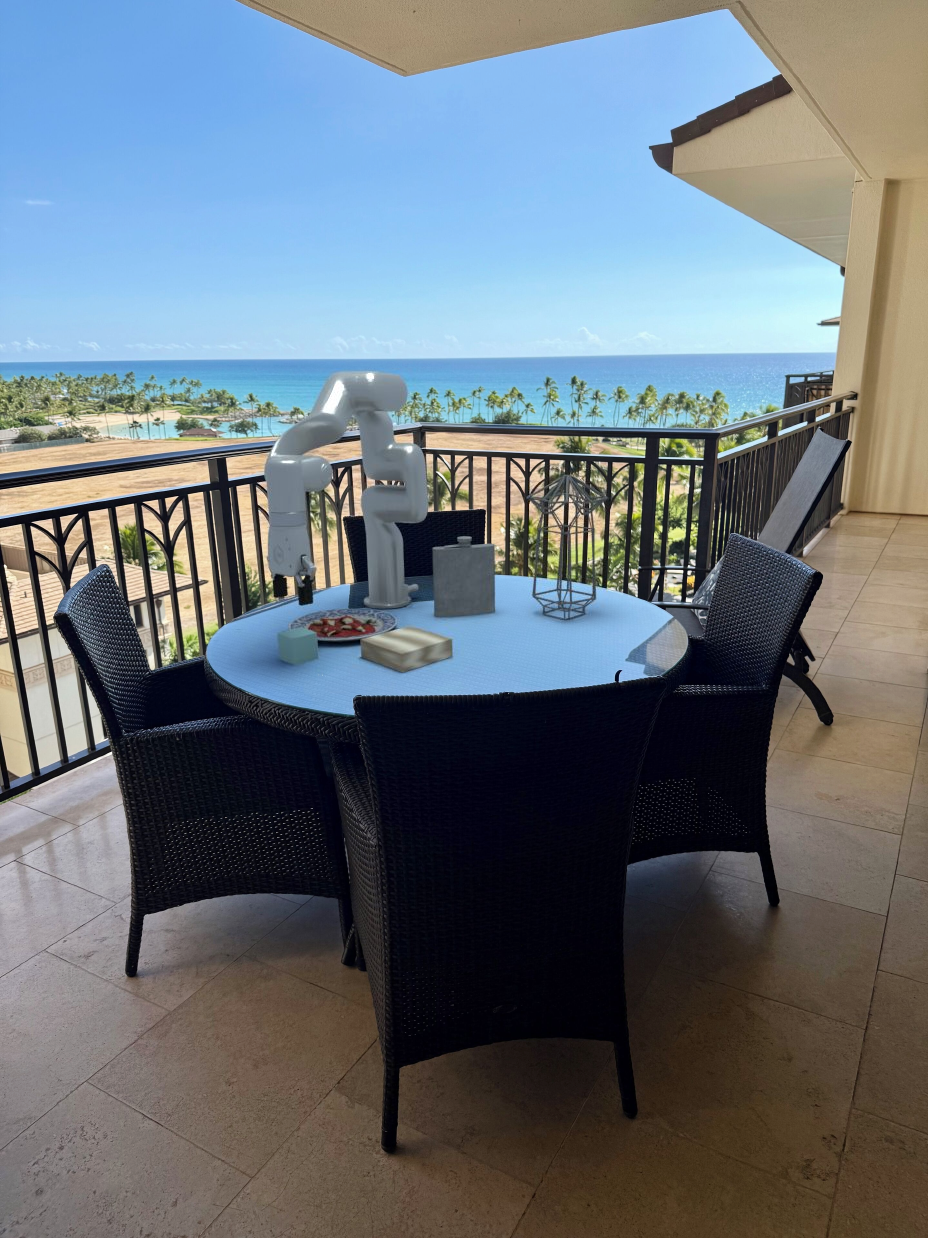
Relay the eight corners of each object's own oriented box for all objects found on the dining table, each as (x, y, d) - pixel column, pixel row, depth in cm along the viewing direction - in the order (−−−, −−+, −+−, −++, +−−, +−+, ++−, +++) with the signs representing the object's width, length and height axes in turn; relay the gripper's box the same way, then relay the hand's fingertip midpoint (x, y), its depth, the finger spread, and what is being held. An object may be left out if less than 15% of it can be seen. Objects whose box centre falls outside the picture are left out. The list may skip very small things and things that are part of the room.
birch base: (410, 642, 185) (410, 625, 183) (452, 656, 175) (452, 638, 174) (361, 657, 175) (360, 639, 174) (402, 672, 166) (401, 653, 164)
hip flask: (493, 609, 210) (492, 533, 205) (497, 613, 207) (497, 536, 201) (433, 614, 207) (431, 537, 201) (436, 618, 203) (434, 540, 197)
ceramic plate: (293, 653, 179) (292, 640, 179) (285, 622, 203) (284, 610, 202) (407, 642, 186) (406, 629, 185) (387, 613, 210) (386, 601, 209)
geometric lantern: (520, 614, 206) (522, 475, 197) (562, 604, 216) (565, 471, 207) (567, 626, 195) (571, 478, 186) (608, 614, 205) (614, 474, 196)
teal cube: (303, 652, 179) (301, 626, 177) (318, 659, 175) (316, 632, 173) (279, 659, 175) (277, 632, 173) (294, 665, 171) (292, 638, 169)
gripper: (250, 517, 170) (256, 596, 174) (295, 526, 158) (300, 611, 162) (281, 514, 175) (286, 591, 179) (327, 521, 163) (331, 604, 167)
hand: (293, 600), depth 171 cm, fingers open, 9 cm apart
